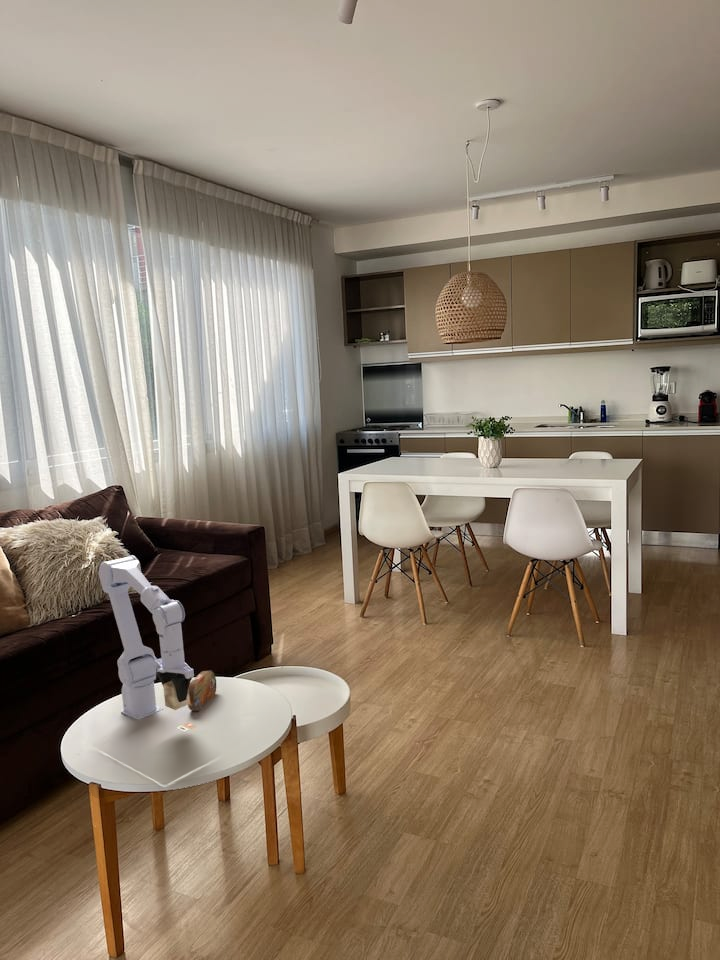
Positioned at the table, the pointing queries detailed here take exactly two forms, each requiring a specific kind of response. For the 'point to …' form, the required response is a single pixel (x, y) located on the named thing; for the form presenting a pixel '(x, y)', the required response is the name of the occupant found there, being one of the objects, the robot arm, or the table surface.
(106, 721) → the table surface
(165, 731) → the table surface
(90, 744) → the table surface
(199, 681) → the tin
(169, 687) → the birch block
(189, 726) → the mat
